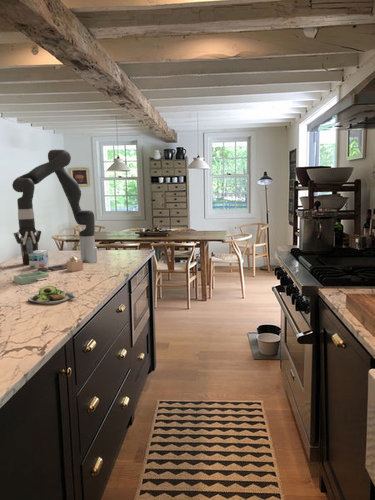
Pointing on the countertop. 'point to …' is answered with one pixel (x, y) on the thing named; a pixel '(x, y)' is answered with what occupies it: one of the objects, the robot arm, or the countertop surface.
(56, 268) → the bulb tester base
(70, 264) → the tan square box
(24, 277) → the green trough
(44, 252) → the light bulb box
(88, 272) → the countertop surface
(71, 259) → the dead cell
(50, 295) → the salad plate
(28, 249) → the grey cell
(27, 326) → the countertop surface
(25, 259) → the olive oil
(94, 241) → the robot arm
